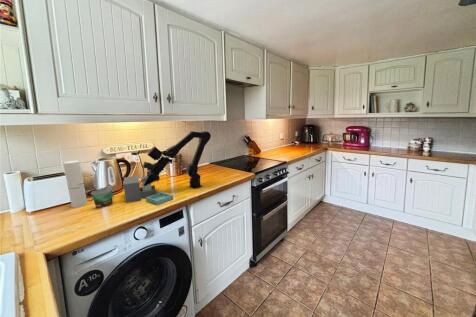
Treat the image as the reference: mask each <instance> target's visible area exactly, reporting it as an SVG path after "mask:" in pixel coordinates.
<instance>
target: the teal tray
mask: <svg viewBox="0 0 476 317" xmlns="http://www.w3.org/2000/svg"><path fill="white" fill-rule="evenodd" d="M145 200H146V203H149V204H151V205H152V204H153V205H154V206H160V205H162V204H165V203H168V202H169V201H172V200H174V195H173V194H170V193H168V192H163V191H161V192H157V194H154V195H152V196H149V197H146V198H145Z"/></svg>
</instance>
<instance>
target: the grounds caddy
mask: <svg viewBox="0 0 476 317" xmlns="http://www.w3.org/2000/svg"><path fill="white" fill-rule="evenodd" d="M147 179H148V176H147V175H146V176H141V177H140V181H141V186H142V189H143V191H148V190H152V188H151V186H152V183H150V184H148V185H146V186H144V183H145V182H146V180H147Z"/></svg>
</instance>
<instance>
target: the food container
mask: <svg viewBox="0 0 476 317" xmlns="http://www.w3.org/2000/svg"><path fill="white" fill-rule="evenodd" d="M113 190H114V187H113V186H112V184H107V186H105V187H104V186H103V187H100V188H99V189H97V190H91V196H92V199H93V202H94V205H95V208H96V209H99V208H101V209H102V208H105V207H110V206H111V205H112V204H113Z"/></svg>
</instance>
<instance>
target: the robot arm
mask: <svg viewBox="0 0 476 317" xmlns="http://www.w3.org/2000/svg"><path fill="white" fill-rule="evenodd" d="M211 136H212V134H211V133H210V132H209V131H205V130H203V131H201V132H200V131H192V130H191V131H190V132H189V133H188V134H186V135H185V136H184V137H183V138H181V139H180V140H179V141H178V142H177V143H176V144H174V145H172V146H170V147H168V148H167V149H166V150H163V151H161V150H160V149H158V148H157V147H156V146H154V147H153V148H151V149H150V150H149V151H148V153H147V156H148V157H149V158H150V159H153V160H154V161H156V162H154V163H151V162H147V161H144V162H143V165H142V168H144V169H146V176H148V179H147V180H146V182H145V183H144V186H146V185H148V184H150V183H151V184H153V183H155V182H159V180H160V174H161V173H162V172H163V171H164V170H165V168H166V167H167V165H168V164H169V163H170V164H173V159H174V158H176V156H177V155H178V154H179V152H180V151H181V149H183V148H184V147H185V146H186V145H187V144H189V142H191V141H192V140H193V139H196V138H197V139H198V144H197V147H196V149H195V153H194V155H193V158H192V161H191V163H188V164H187V167H186V168H185V170H186V171H185V172H186V174H187V175H188V176H189V177H190V178H189V181H188V182H189V186H188V187H189V188H192V189H197V188H200V187H203V186H202V184H201V175H200V174H199V173H198V170H199V162H200V160H201V157H202V155H203V152H204V149H205V148H206V145H207V144H208V143H209V142H210V139H211Z"/></svg>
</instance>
